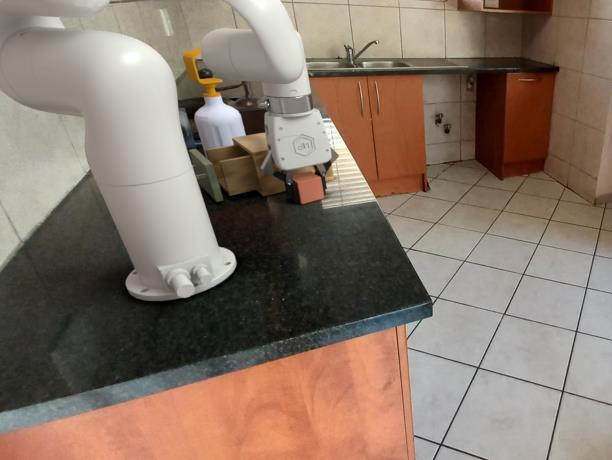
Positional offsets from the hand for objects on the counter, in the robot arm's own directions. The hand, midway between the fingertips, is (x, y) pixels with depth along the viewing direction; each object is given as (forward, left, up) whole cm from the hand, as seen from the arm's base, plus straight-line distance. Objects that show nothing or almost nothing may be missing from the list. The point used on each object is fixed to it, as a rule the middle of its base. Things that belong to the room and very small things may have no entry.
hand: (308, 196), depth 85 cm
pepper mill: (+47, -4, -1) cm, 47 cm away
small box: (+45, +14, -1) cm, 47 cm away
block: (0, 0, 0) cm, 0 cm away
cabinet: (+12, -1, 0) cm, 12 cm away
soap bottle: (+35, +4, -1) cm, 35 cm away
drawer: (+12, +10, +1) cm, 16 cm away
